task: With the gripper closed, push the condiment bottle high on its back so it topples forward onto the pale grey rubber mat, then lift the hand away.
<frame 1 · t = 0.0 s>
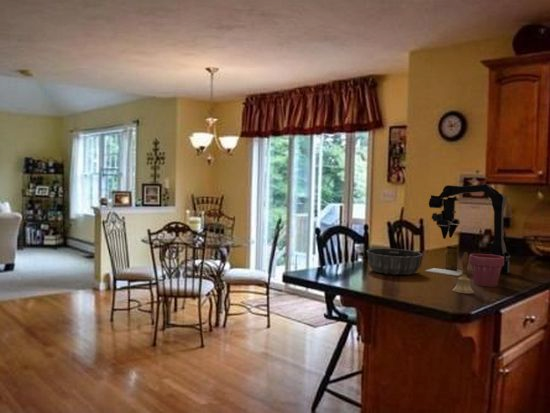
hand: (447, 238, 282), 15 cm above the worktop, fingers open, 9 cm apart
condiment: (452, 270, 266), on the worktop
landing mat: (445, 272, 258), on the worktop
plant pot: (485, 285, 230), on the worktop
bundt pan: (393, 272, 254), on the worktop
hand bell: (463, 292, 213), on the worktop
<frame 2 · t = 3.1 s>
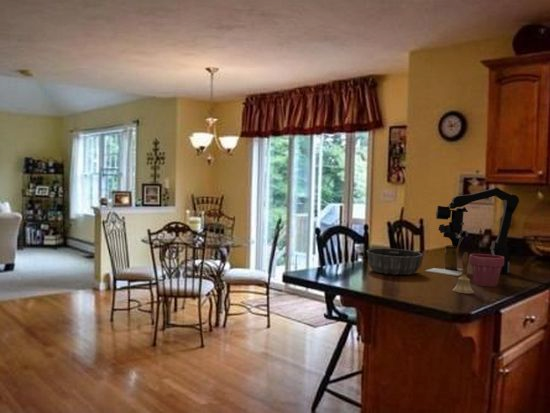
hand: (454, 250, 268), 10 cm above the worktop, fingers closed
condiment: (452, 270, 266), on the worktop, touching gripper
everything else where it was.
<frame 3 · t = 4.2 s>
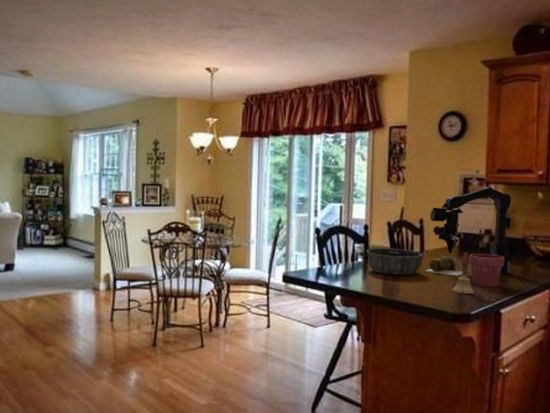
hand: (450, 253, 263), 9 cm above the worktop, fingers closed
condiment: (448, 263, 264), point 4 cm above the worktop, touching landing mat
everything else where it was.
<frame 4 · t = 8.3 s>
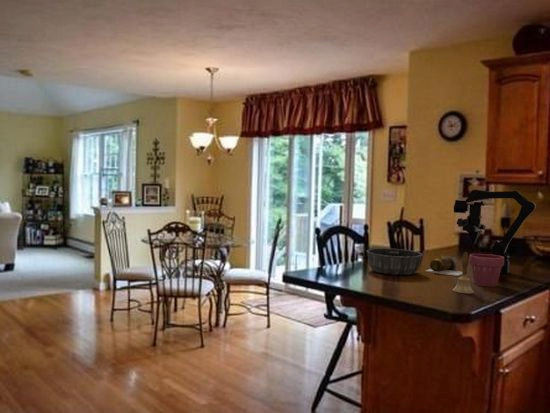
hand: (473, 244, 271), 13 cm above the worktop, fingers closed
nothing on the worktop moved.
at the end: condiment tilted 92°; condiment touching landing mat, worktop; condiment inside the target area (5.9 cm from its centre), point 3.7 cm above the worktop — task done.
